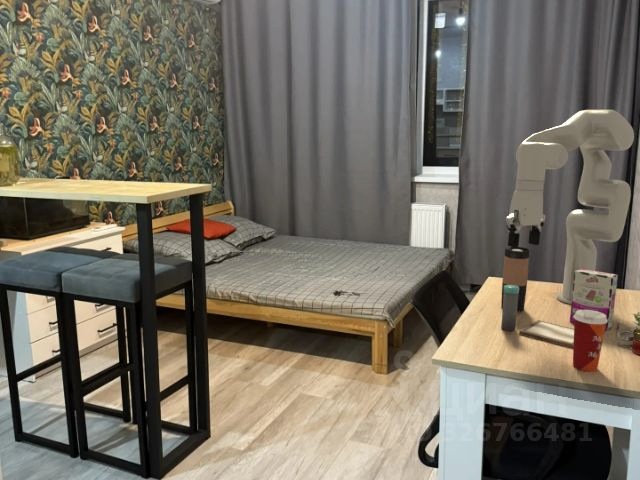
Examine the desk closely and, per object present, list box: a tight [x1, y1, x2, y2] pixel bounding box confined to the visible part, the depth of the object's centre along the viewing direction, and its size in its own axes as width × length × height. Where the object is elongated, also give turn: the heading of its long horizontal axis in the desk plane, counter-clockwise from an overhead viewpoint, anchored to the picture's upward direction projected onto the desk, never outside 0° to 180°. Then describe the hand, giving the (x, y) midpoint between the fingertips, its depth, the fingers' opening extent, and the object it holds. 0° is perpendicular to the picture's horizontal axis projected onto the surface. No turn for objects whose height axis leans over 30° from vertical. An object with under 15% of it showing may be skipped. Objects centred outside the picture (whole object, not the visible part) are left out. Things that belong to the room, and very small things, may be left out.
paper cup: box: [572, 310, 608, 373], centre depth 144 cm, size 8×8×14 cm
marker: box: [500, 285, 519, 333], centre depth 170 cm, size 4×4×13 cm
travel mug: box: [500, 246, 531, 313], centre depth 189 cm, size 8×8×20 cm
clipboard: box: [518, 319, 574, 349], centre depth 166 cm, size 13×16×2 cm
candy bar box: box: [569, 269, 619, 331], centre depth 174 cm, size 11×5×16 cm, turn 47°
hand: (523, 245), depth 168 cm, fingers open, 9 cm apart
